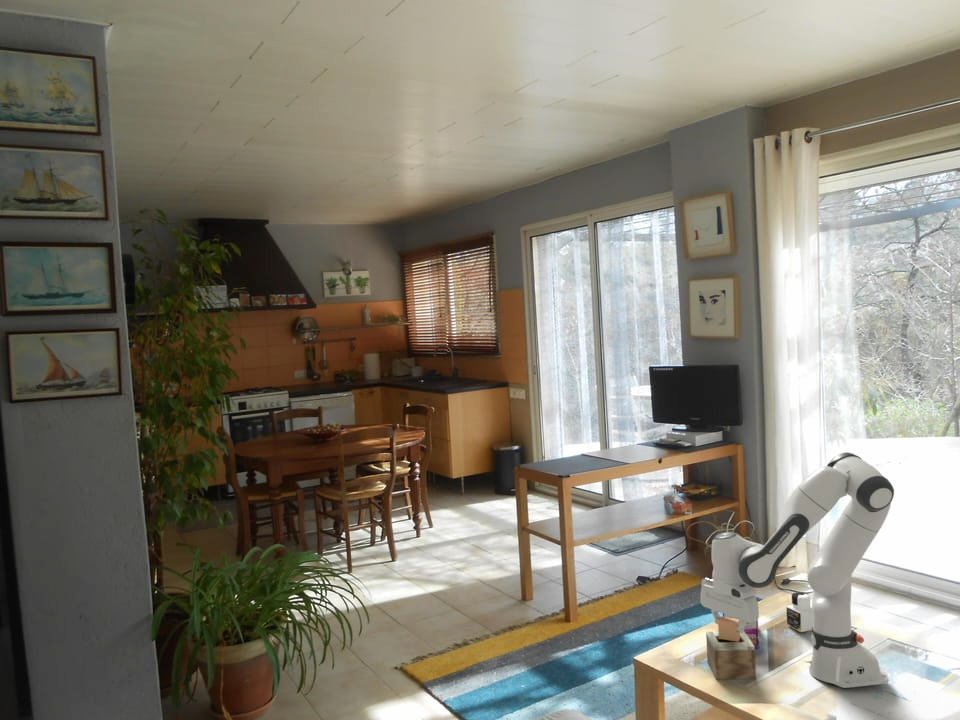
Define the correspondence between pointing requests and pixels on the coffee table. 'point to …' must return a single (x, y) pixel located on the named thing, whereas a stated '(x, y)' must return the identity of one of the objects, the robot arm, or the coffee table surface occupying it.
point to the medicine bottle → (800, 612)
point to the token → (728, 629)
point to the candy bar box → (750, 631)
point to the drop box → (731, 657)
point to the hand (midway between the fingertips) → (729, 627)
